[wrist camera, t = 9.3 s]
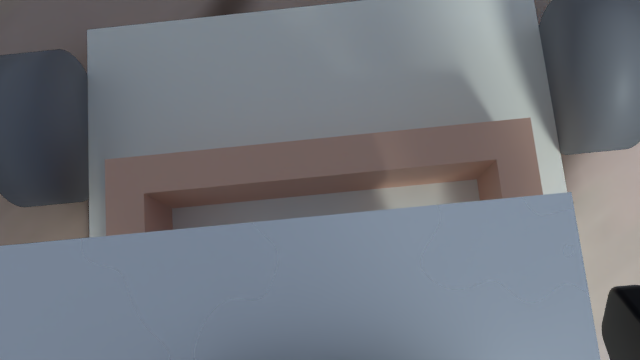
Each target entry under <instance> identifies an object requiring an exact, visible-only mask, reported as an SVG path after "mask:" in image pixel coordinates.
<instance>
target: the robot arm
mask: <svg viewBox="0 0 640 360" xmlns="http://www.w3.org/2000/svg"><path fill="white" fill-rule="evenodd" d="M602 336H603V340H604V343H605V346H606V349H607V352H608V354H609V357H610V360H640V285H629V286H617V287H614V288H612V289H611V290H610V292H609V295H608V299H607V303H606V308H605V312H604V317H603V322H602Z"/></svg>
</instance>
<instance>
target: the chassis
mask: <svg viewBox="0 0 640 360" xmlns="http://www.w3.org/2000/svg"><path fill="white" fill-rule="evenodd" d="M87 66H88V75H87V73H86V71H85V70H84V68H83V67H82V65H81V64H80V62H79V61H78V60H77V59H76V58H75V57H74V56H73V55H72V54H71V53H69V52H67V51H65V50H62V49H57V50H47V51H38V52H28V53H19V54H9V55H0V193H1V195H2V196H3V197H5V198H6V199H7V200H8V201H9V202H11V203H12V204H14V205H17V206H20V207H32V206H42V205H53V204H63V203H74V202H83V201H86V200H87V199H89V238H90V237H101V236H111V235H122V234H132V233H143V232H154V231H164V230H175V229H185V228H196V227H206V226H217V225H228V224H238V223H249V222H259V221H270V220H281V219H291V218H302V217H312V216H323V215H334V214H344V213H355V212H365V211H376V210H387V209H397V208H408V207H418V206H429V205H440V204H450V203H461V202H471V201H482V200H492V199H503V198H514V197H524V196H535V195H545V194H556V193H567V189H566V183H565V177H564V171H563V165H562V160H561V154H560V153H562V154H565V155H571V154H581V153H591V152H602V151H612V150H622V149H629V148H631V147H633V146H635V145H636V144H638V142H639V141H640V0H552V1H551V2H550V4H549V5H548V6H547V8H546V10H545V12H544V14H543V17H542V20H541V23H540V26H538V21H537V15H536V9H535V3H534V0H362V1H353V2H343V3H334V4H324V5H315V6H306V7H296V8H287V9H277V10H268V11H259V12H249V13H240V14H230V15H221V16H212V17H202V18H193V19H183V20H174V21H165V22H155V23H146V24H136V25H127V26H118V27H108V28H99V29H89V30H87Z"/></svg>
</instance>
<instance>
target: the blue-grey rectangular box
mask: <svg viewBox="0 0 640 360" xmlns="http://www.w3.org/2000/svg"><path fill="white" fill-rule="evenodd" d="M0 360H600V355H599V349H598V343H597V338H596V332H595V326H594V320H593V315H592V309H591V303H590V297H589V292H588V286H587V280H586V274H585V269H584V263H583V257H582V251H581V246H580V240H579V234H578V228H577V223H576V217H575V211H574V205H573V199H572V194H571V192H567V193H556V194H545V195H535V196H524V197H514V198H503V199H492V200H482V201H471V202H461V203H450V204H440V205H429V206H418V207H408V208H397V209H387V210H376V211H365V212H355V213H344V214H334V215H323V216H312V217H302V218H291V219H281V220H270V221H259V222H249V223H238V224H228V225H217V226H206V227H196V228H185V229H175V230H164V231H154V232H143V233H132V234H122V235H111V236H101V237H90V238H79V239H69V240H58V241H48V242H37V243H26V244H16V245H5V246H0Z"/></svg>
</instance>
